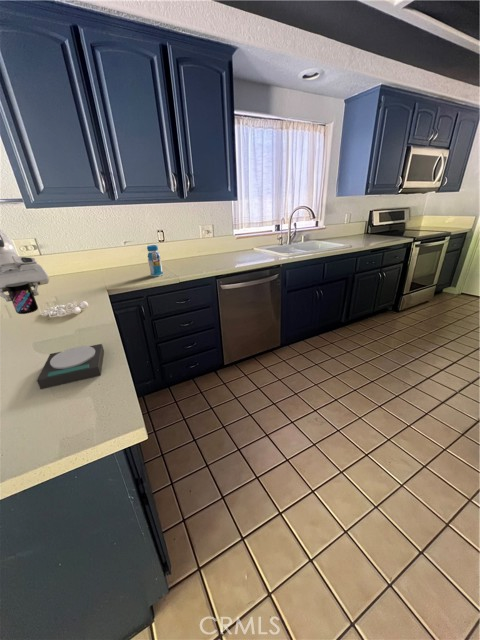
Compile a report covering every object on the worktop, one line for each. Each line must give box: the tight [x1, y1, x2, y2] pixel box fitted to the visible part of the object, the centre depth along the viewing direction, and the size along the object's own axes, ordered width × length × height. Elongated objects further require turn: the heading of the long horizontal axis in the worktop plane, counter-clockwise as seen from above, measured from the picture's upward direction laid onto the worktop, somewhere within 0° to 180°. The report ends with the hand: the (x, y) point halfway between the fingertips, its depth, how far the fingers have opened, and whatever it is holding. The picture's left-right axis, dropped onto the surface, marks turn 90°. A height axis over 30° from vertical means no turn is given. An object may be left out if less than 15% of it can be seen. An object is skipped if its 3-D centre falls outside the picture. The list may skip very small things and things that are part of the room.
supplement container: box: [6, 281, 39, 315], centre depth 95 cm, size 7×7×10 cm
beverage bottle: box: [146, 244, 164, 277], centre depth 180 cm, size 8×8×20 cm
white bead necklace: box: [41, 300, 89, 318], centre depth 123 cm, size 19×14×4 cm
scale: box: [36, 343, 105, 390], centre depth 80 cm, size 15×15×4 cm
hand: (23, 297), depth 95 cm, fingers closed on supplement container, 6 cm apart
